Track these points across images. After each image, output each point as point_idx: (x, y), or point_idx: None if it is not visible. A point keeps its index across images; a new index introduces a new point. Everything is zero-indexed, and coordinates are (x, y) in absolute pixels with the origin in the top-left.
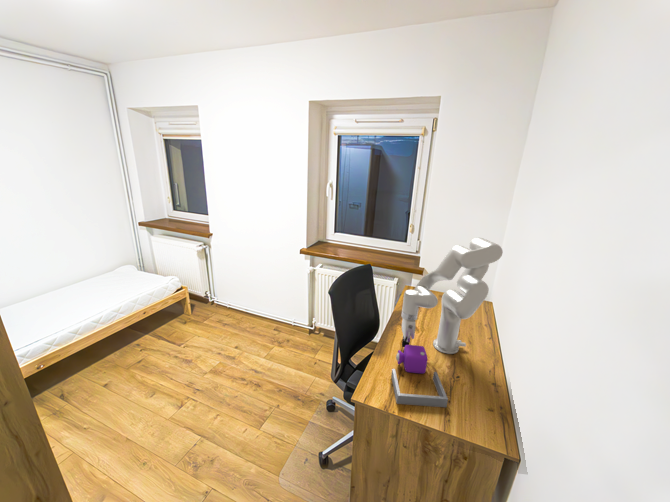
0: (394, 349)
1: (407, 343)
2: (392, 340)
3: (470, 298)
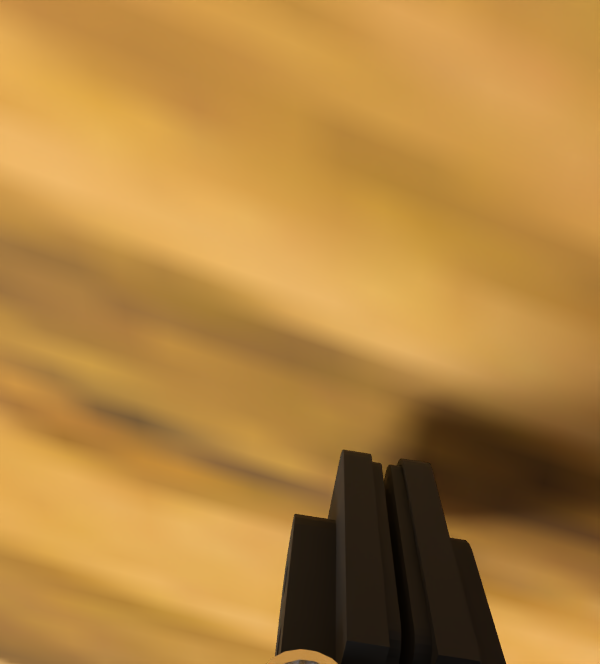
0: None
1: (490, 637)
2: (65, 586)
3: None
